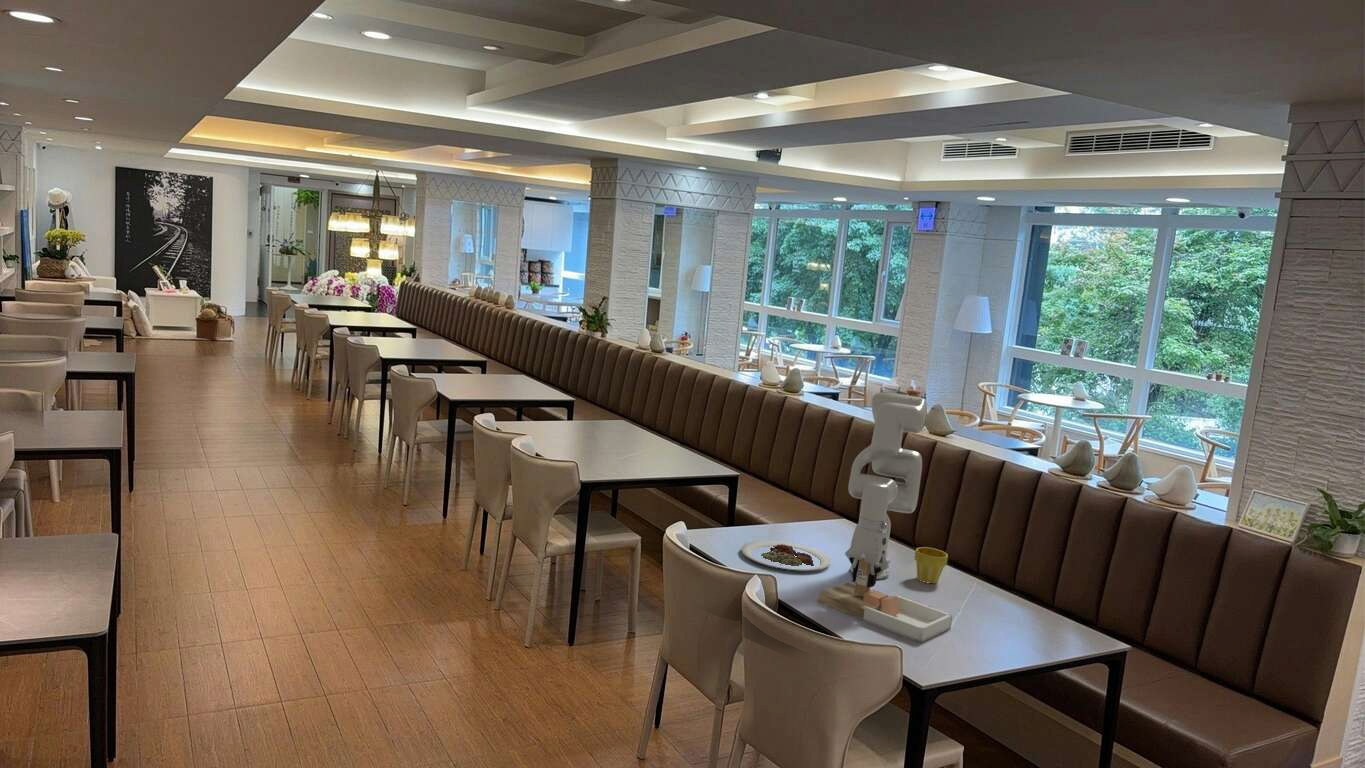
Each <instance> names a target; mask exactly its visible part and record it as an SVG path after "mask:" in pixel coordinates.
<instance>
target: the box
mask: <svg viewBox="0 0 1365 768" xmlns="http://www.w3.org/2000/svg"><path fill="white" fill-rule="evenodd" d="M895 596H897V599H898V606H899V614H897V615H895V616H891V615H888V614H885V613H883V612H882V611H881V612H880V611H877V610H875V609H872V608H869V607H865V610H864V617H863V619H862V622H865V623H867V624H868V623H869V624H871V625H873V626H876V627H878V628H881V629H883V630H886V631H889V632H890V633H894V634H896V635H899V636H902V637H903V638H906V639H910V640H912V641H915V642H917V643H918V644H919V643H920V644H922V643H923V642H925V641H928V640H929V639H931V638H934V637H937V635H939V634H940V635H941V634H942V633H944V632H947V631H948V630H951V628H952V622H953V617H954V616H953V614H951V613H947V612H946V611H943V610H940V609H936V608H933V607H931V606H927V605H925V604H923V603H920V602H917V601H914V600H911V599H909V598H905V597H903V596H899V595H895Z"/></svg>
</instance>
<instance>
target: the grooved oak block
mask: <svg viewBox="0 0 1365 768" xmlns="http://www.w3.org/2000/svg"><path fill="white" fill-rule="evenodd" d="M855 585H856V584H854V583H852V582H846V583H843V584H839V585H837V586H834V587H831V588H828V589H826V590H821V591H819V593H818V598H817V599H818V600H817V602H818V603H819V604H822V605H825V606H828V607H830V608H832V609H836V610H837V611H840V612H843V613H845V614H849V615H851V616H853V617H856V618H858V619H862V620H863V617H864V610H865V607H869V608H872V609H875V610H877V611H880V612H881V611H882V606H879V607H877V606H874V605H872V604H869V603H867V602H864V601H863V598H864V596H859V595H856V594H855V593H854V590H855ZM870 591H871V589H870Z"/></svg>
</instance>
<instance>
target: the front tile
mask: <svg viewBox="0 0 1365 768" xmlns="http://www.w3.org/2000/svg"><path fill="white" fill-rule="evenodd" d="M881 604H882V612H883V613H885V614H888V615H891V616H895V615H897V614H899V606H898V599H897V596H896V595H888V597H886V598H883V599H881Z"/></svg>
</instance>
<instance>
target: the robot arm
mask: <svg viewBox="0 0 1365 768" xmlns="http://www.w3.org/2000/svg"><path fill="white" fill-rule="evenodd" d="M927 410H928V404H927V400H926V399H925V398H923V397H919V396H913V395H907V394H900V393H895V392H894V393H893V392H887V391H886V392H877V393H875V394H874V395H872V398H871V413H872V416H873V421H874V428H873V434H872V437H871V443H870V445H869V446H867V447H865V448H864V449H863V450H862V451H861V452H859V454H858V455H857V456H856V457H855V459H854V460H853V463H852V465H851V471H850V475H849V481H848V486H847V487H848V488H847V489H848V493H849V495H850V497H852V498H855V499H858V500H859V499H860V500H861V504H860V510H859V517H858V523H857V525H856V526H855V528H854V531H853V535H852V539H851V542H850V547H849V548H848V549H847V551H845V552H844V555H845V556H846V558H847V559H848V561H849V563H850V566H849V567H850V568H849V570H850V571H851V573H852V572H853V573H852V575H851V577H852V582H851V583H856V576H857V571H858V564H859V560H861V559H862V558H863V557H861V555H862V554H864V555H865V558H863V559H865V562H867V563H869V564H870V570H871V574H869V576H868V583H867V587H869V588H870V589H871V588H872V587H875V585H876V583H877V580H884V578H885V579H887V578H889V576H890V573H889V571H888V570H887V569H889V567H890V566H889V564H890V563H891V559H890V558H887V556H888V550H889V540H890V536H891V535H890V534H891V528H892V527H891V526H892V523H891V520H890V517H889V516H888V511H890V512H891V511H892V512H898V513H903V514H912V513H913V512H914V511H915V510H916V508H917V505H918V500H919V493H920V492H919V491H920V486H921V478H922V471H923V458H922V455H921V453H920V452H918V451H916V450H911V449H906V448H902V442H903V441H902V440H903V435H904V434H903V432H905V433H906V432H908V433H913V434H918V433H921V432H922V430H923V429H924V425H925V421H926V418H927V417H926V416H927V413H928V411H927ZM869 463H871V468H872V471H873V472H874V473H875V474H878V475H881V476H878V475H872V474H868V473H867V474H866V473H861V471H862V469H863V467H864V466H866V465H867V464H869ZM883 476H886V477H883ZM889 477H891V478H889ZM892 478H899V479H903V480H904V481H905V482H901V481H900V482H899V481H895V480H894V479H892Z"/></svg>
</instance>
